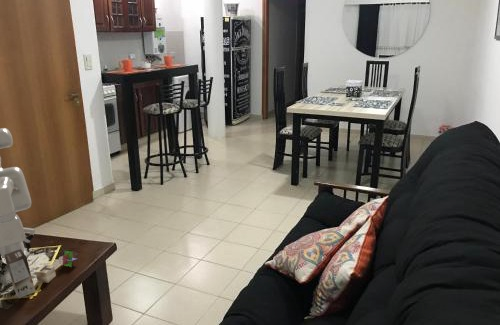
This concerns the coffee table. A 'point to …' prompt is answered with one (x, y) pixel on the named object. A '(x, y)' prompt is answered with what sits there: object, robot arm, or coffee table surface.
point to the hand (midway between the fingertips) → (14, 254)
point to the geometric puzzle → (67, 258)
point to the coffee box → (20, 273)
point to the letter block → (45, 273)
